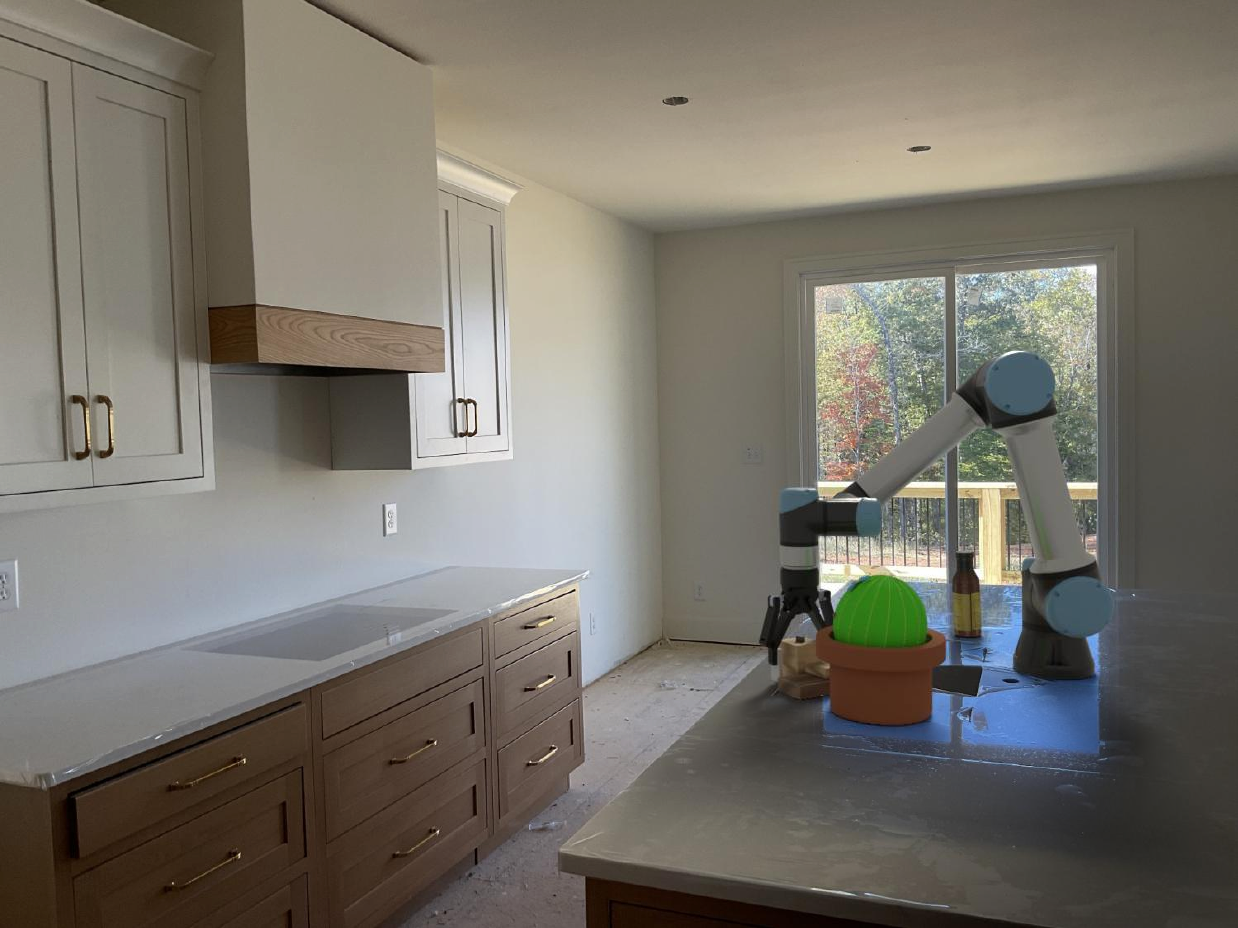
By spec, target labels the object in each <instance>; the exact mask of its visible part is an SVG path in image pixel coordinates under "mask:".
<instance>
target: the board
mask: <svg viewBox="0 0 1238 928" xmlns="http://www.w3.org/2000/svg"><path fill="white" fill-rule="evenodd" d="M779 691H780V693H782V694H784V695H787V696H789V695H790V696H789V697H791V696H793V697H792V698H794V697H795V699H796V698H798V699H797V700H799V699H800V700H799V701H802V699H804V700H807V699H806V698H809V699H813V698H812V697H814V698H817V697H816V696H820V697H822V696H821V695H825V696H830V679H824V678H821V677H818V676H816V675H813V674H810V673H804V674H798V675H792V676H786V677H780V678H778V682H777V692H779Z"/></svg>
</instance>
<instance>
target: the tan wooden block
mask: <svg viewBox="0 0 1238 928" xmlns="http://www.w3.org/2000/svg"><path fill="white" fill-rule="evenodd" d="M779 648H780V649H782V664H783V677H786V676H792V675H798V674H804V673H810V674H813V675H816V676H818V677H821V678H824V679H830V664H826V663H823V662H822V660H820V659H819V658H818V657H817V655H816V639H812V638H809V637H806V636H805V635H802V634H801V635H800V634H797V635H795V637H792V638H791V637H790V638H785V639H784V638H783V639H782V641H781V644H780V646H779Z"/></svg>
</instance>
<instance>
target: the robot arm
mask: <svg viewBox="0 0 1238 928" xmlns="http://www.w3.org/2000/svg"><path fill="white" fill-rule="evenodd" d="M1055 391H1056V376H1055V373H1054V370H1053V369H1052V367H1051V365H1050V364H1049V363H1048V362H1047V361H1046V360H1045V359H1044V358H1043V357H1041V356H1040V355H1038V354H1036V353H1032V352H1030V351H1026V350H1012V351H1006V352H1004V353H1002V354H998V355H994V356H992V357H990V358H989V359H987V360H986V361H984V362H983V363H982V364H981V365H980V366H979V367H978V368H977V369H975V371H974V372H973V373H972V374H971V376H969V378H967V379H966V380H965V381H964V383H962V384H961V385H960V386H958V388H957V389H956V390H954V391H953V392H952V393H951V400H950V401H949V402H948V403H947V404H945V406H943V407H942V408H941V409H939V410H938V411H937V412H936V413H934V414H933V415H931V417H929V418H928V419H927V420H926V421H925V422H924V423H922V424H921V425H920V426H919V427H918V428H917V429H915V430H914V431H913V432H912V433H910V434H909V435H908V436H907V437H906V438H904V439H903V440H902V441H900V442H899V443H898V444H897V445H896V446H895V447H894V448H893V449H891V450H890V451H889V452H888V453H887V454H886V455H884V456H883V457H882V458H880V459H879V460H878V461H877V462H875V463H874V464H873V465H872V466H870V468H868V469H867V470H866V471H865V472H863V473H862V474H861V475H859V477H858V478H856V479H855V480H854V481H853V482H852V483H850V484H849V485H848V486H846V488H844V489H843V490H841V491H839V492H837V493H836V494H834V496H833V497H830V498H828V497H827V498H826V497H820V495H819V492H818V489H817V488H815V487H787V488H786V487H785V488H783V489H782V490H781V492H780V494H779V511H778V514H779V515H778V518H779V519H778V520H779V522H778V523H779V564H780V565H781V566H782V567H781V568H779V583H780V586H781V592H780V595H778V594H777V595H772V594H771V595H770V594H769V595H768V597H767V609H766V612H765V617H764V620H763V624H762V628H761V632H760V637H759V640H758V644H759V645H761V646H763V647H766V648H767V656H768V657H767V659H768V660H767V662H768V664H769V665H770V677H771V678H770V679H771V680H772V681H774V682H777V683H778V678H780V677H783V664H782V649H780V648H779V646H780V644H781V641H782V640H783V639H784V638H785V634H786V633H787V631H788V629H789V627H790V624H791V622H792V621H793V620H794V619H795V618H796V616H798V615H801V614H807V615H808V617H809V619H810V621H811V623H812V624H813V626H814V628H815V630H816V631H817V632H818V631H819V630H821V629H823V628H825V627H828V626H832V625H833V619H834V617H833V613H834V612H835V610H834V607H833V604H832V592H831V590H829V589H824V588H819V589H818V587H819V584H820V571H819V570H820V569H819V568H818V567H817V566H819V564H820V556H819V555H820V553H819V552H820V551H819V548H820V547H819V537H852V538H853V537H856V538H859V537H861V538H865V537H878V536H879V535H880V534H881V532H882V530H883V529H882V526H883V524H882V522H883V513H882V512H883V511H882V506H884V505H885V504H887V502H889V501H890V500H891V499H892V498H894V497H896V495H897V494H899V493H900V492H901V491H902V490H904V488H906V487H907V486H909V485H910V484H911V483H912V482H913V481H914V480H916V479H917V478H918V477H919V476H921V475H922V474H923V473H925V471H927V470H928V469H930V467H932V466H933V465H934V464H936V463H938V461H939V460H941V459H942V458H944V456H945V455H947V454H948V453H950V451H952V450H953V449H954V448H956V447H957V446H958V445H959V444H960V443H962V442H963V441H964V440H965V439H966V438H968V437H969V436H970V435H971V434H972V433H974V432H975V431H976V430H978V429H981V430H983V429H984V430H985V429H987V428H988V427H989V426H990V425H991V428H992V431H994V432H995V433H997V434H998V435H1001V436H1002V438H1003V440H1004V443H1005V448H1006V451H1007V456H1008V459H1009V460H1008V461H1009V463H1010V467H1011V470H1012V475H1013V478H1014V482H1015V485H1016V490H1017V493H1018V497H1019V500H1020V501H1019V502H1020V505H1021V508H1022V509H1021V510H1022V513H1023V517H1024V521H1025V525H1026V528H1027V531H1028V536H1029V538H1030V543H1031V546H1032V550H1033V555H1034V556H1028V557H1025V558H1023V561H1022V563H1021V564H1022V566H1021V571H1020V575H1021V632H1020V635H1019V638H1018V640H1017V643H1016V647H1015V650H1014V652H1013V654H1012V667H1013V669H1014V670H1016V671H1017V672H1019V673H1022V674H1025V675H1029V676H1032V677H1039V678H1043V679H1044V678H1045V679H1056V680H1079V679H1085V678H1086V679H1087V678H1091V677H1092V676H1095V673H1096V671H1095V670H1096V668H1095V664H1096V662H1095V659H1094V658H1093V655H1092V651H1091V648H1090V645H1089V642H1088V639H1087V638H1089V637H1093V636H1094V635H1097V634H1098V633H1101V632H1102V631H1103V630H1104V629H1105V628H1106V627H1107V626H1108V625H1109V624H1110V623H1111V620H1112V619H1113V615H1114V611H1115V602H1114V601H1115V600H1114V598H1113V595H1112V593H1111V591H1110V589H1109V588H1108V586H1107V585H1106V584H1105V583H1103V579H1102V576H1101V573H1100V570H1099V565H1098V561H1097V557H1096V556H1095V555H1094V554H1091V553H1090V552H1088V551H1087V550H1086V549H1085V547H1084V543H1083V540H1082V537H1081V532H1080V529H1079V528H1080V527H1079V525H1078V521H1077V518H1076V513H1075V510H1074V506H1073V502H1072V498H1071V494H1070V490H1069V486H1068V483H1067V482H1068V481H1067V479H1066V475H1065V471H1064V468H1063V464H1062V460H1061V456H1060V453H1059V449H1058V445H1057V440H1056V438H1055V437H1056V436H1055V434H1054V430H1053V423H1054V422H1055V420H1057V417H1058V415H1059V413H1058V410H1057V406H1056V401H1055V398H1054V395H1055ZM817 601H818V604H819V607H818V605H817ZM821 614H822V615H821ZM822 662H823V663H826V662H824V661H822ZM826 664H829V663H826ZM829 665H830V664H829Z"/></svg>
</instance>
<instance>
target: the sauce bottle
mask: <svg viewBox="0 0 1238 928" xmlns="http://www.w3.org/2000/svg"><path fill="white" fill-rule="evenodd" d="M974 557H975V552H974V551H973V550H969V549H968V550H965V549H963V550H962V549H960V550H957V551H955V558H956V571H955V573H954V574H953V577H952V590H951V591H952V613H953V614H952V618H953V628H954V629H953V630H954V634H955V635H956V636H959V637H962V638H978V637H980V636H981V635H982V628H983V623H982V622H983V621H982V619H983V618H982V601H981V589H980V588H981V587H980V577H979V576H978V574H977V573H976V571H975V567H974Z"/></svg>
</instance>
